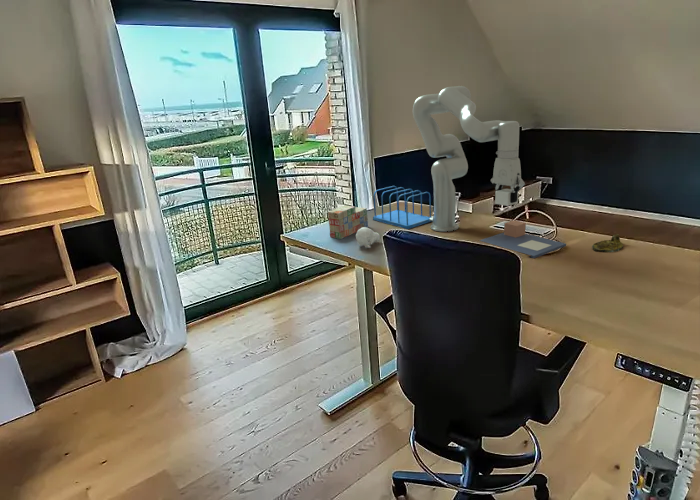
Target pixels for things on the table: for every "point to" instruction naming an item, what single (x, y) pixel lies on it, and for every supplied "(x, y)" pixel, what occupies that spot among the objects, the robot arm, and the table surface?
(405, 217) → the file sorter
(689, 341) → the table surface
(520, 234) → the top block
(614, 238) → the seal
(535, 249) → the board
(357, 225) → the stack of blocks
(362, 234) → the white animal figurine
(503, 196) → the base block
